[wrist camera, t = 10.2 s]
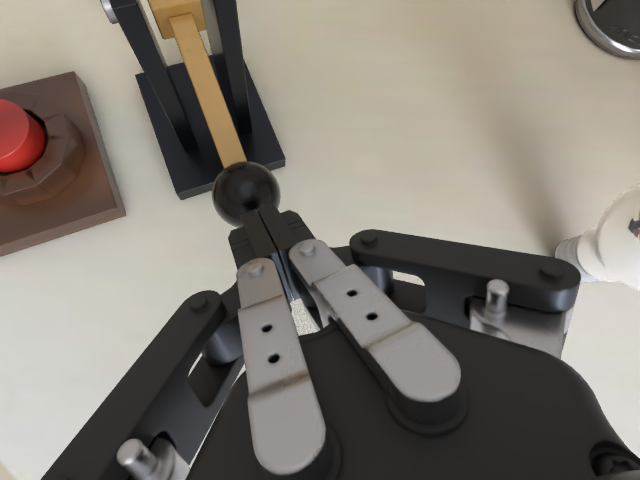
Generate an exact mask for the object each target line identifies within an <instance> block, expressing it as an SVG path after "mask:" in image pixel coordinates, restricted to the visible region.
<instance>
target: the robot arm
mask: <svg viewBox="0 0 640 480" xmlns="http://www.w3.org/2000/svg"><path fill="white" fill-rule="evenodd" d="M575 9H576V14H577V18H578V20H579V23H580V25H581V27H582V28H583V30H584V31H585V33H586V34H587V35H588V36H589V37H590V38H591V40H592V41H594V42H595V43H596V44H597V45H598V46H600V47H601V48H603V49H604V50H606V51H607V52H609V53H611V54H614V55H616V56H619V57H622V58H627V59H640V0H576V2H575ZM257 211H258V213H257ZM257 211H256V210H253V211H250V212H248V213H245V214H242V215H239V216H240V219H241V221H242V224H243V227H240V228H237V229H234V230H232V231H231V232H230V235H229V237H228V240H229V243H230V246H231V250H232V253H233V256H234V259H235V263H236V266H237V269H238V271H237V274H236V277H237V281H236V282H235V284H234V285H233V286H232V287H231V288H230V289H228V290H227V291H226V292H224V293H222V294H221V295H219V293H217V292H215V291H211V290H207V291H202V292H199V293H196V294H194V295H192V296H190V297H189V298H188V299H186V300H185V301H184V302H183V303H182V305H181V306H180V307H179V308H178V310H177V311H176V312H175V313H174V315H173V316H172V317H171V318H170V320H169V321H168V322H167V323H166V325H165V326H164V327H163V328H162V329H161V331H160V332H159V333H158V334H157V336H156V337H155V338H154V339H153V341H152V342H151V343H150V344H149V346H148V347H147V348H146V349H145V351H144V352H143V353H142V354H141V356H140V357H139V358H138V359H137V361H136V362H135V363H134V364H133V365H132V367H131V368H130V369H129V370H128V372H127V373H126V374H125V375H124V377H123V378H122V379H121V380H120V382H119V383H118V384H117V385H116V387H115V388H114V389H113V390H112V392H111V393H110V394H109V395H108V397H107V398H106V399H105V400H104V402H103V403H102V404H101V405H100V406H99V408H98V409H97V410H96V411H95V413H94V414H93V415H92V416H91V418H90V419H89V420H88V421H87V423H86V424H85V425H84V426H83V428H82V429H81V430H80V431H79V433H78V434H77V435H76V436H75V438H74V439H73V440H72V441H71V443H70V444H69V445H68V446H67V447H66V449H65V450H64V451H63V452H62V454H61V455H60V456H59V457H58V459H57V460H56V461H55V462H54V464H53V465H52V466H51V467H50V469H49V470H48V471H47V472H46V474H45V475H44V476H43V477H42V479H41V480H640V458H638V457H637V456H636V455H635V454H634V453H633V452H631V451H630V450H629V448H628V447H627V446H626V445H625V444H624V443H623V441H622V440H621V439H620V438H619V436H618V435H617V434H616V432H615V431H614V429H613V428H612V426H611V425H610V424H609V422H608V420H607V419H606V417H605V415H604V413H603V411H602V409H601V407H600V405H599V403H598V400H597V398H596V396H595V394H594V392H593V391H592V389H591V388H590V386H589V385H588V383H587V382H586V381H585V380H584V379H583V378H582V376H581V375H580V374H579V373H578V372H576V371H575V370H574V369H573V368H572V367H571V366H569V365H568V364H566V363H565V362H564V361H562V360H561V352H562V349H563V346H564V342H565V338H566V334H567V331H568V327H569V323H570V319H571V316H572V312H573V308H574V304H575V300H576V297H577V293H578V289H579V285H580V281H581V273H580V272H579V270H578V269H577V268H576V267H575V266H574V265H572V264H571V263H569V262H567V261H564V260H562V259H558V258H553V257H547V256H540V255H534V254H528V253H521V252H515V251H509V250H502V249H496V248H490V247H483V246H477V245H471V244H464V243H458V242H452V241H445V240H439V239H433V238H426V237H420V236H414V235H407V234H401V233H395V232H388V231H382V230H375V229H370V230H364V231H361V232H358V233H356V234H355V235H353V236H352V237H351V239H350V242H349V244H350V246H344V247H337V248H331V247H328V246H327V245H326V244H325V243H324V242H323V241H321V240H317V239H316V238H315V237H314V236H313V234H312V233H311V231H310V230H309V229H308V227H307V226H306V225H305V223H304V222H303V221H302V219H301V217H300V216H299V215H298V213H295V212H293V211H291V210H288V211H285V212H282V213H279V211H278V209H277V208H276V206H275V205H274V203H273V204H270V205H268V206H265V207H262V208H259V209H257ZM392 270H393V271H397V272H402V273H407V274H411V275H415V276H418V277H419V278H421V279H422V280H423V282H424V284H425V286H422V285H418V284H413V283H409V282H405V281H400V280H396V279H393V272H392ZM289 289H290V290H289ZM290 291H291V293H290ZM291 294H292V296H293V298H294V300H296V299H298V298H301V299H302V301H303V304H304V308H305V311H306V313H307V315H308V316H309V318H310V320H311V321H312V323H313V324H314V326H315V327H316V329H317V331H318V332H315V333H311V334H306V335H301V336H299V335H298V332H297V329H296V326H295V323H294V320H293V317H292V314H291V313H292V308H291V305H290V302H291V301H293V299H292V296H291ZM200 353H202V357H201V358H200V360H199V361H198V363H197V364H196V366H195V368H194V369H193V371H192V372H191V374H190V375H189V371H190V369H191V367H192V365H193V364H194V362H195V361H196V359H197V358H198V356H199V355H200ZM244 363H245V367H246V370H245V371H244V372H243V373H242V374H241V375H240V377H239V378H238V379H237V380H236V382H235V383H234V381H235V379H236V378H237V376H238V374H239V372H240V370H241V368H242V366H243V365H244ZM188 375H189V377H188ZM233 383H234V384H233ZM232 385H233V386H232ZM231 387H232V388H231ZM228 392H229V393H228ZM227 394H228V395H227ZM226 396H227V397H226ZM225 398H226V399H225ZM224 400H225V401H224ZM223 402H224V403H223ZM222 404H223V405H222ZM221 406H222V407H221ZM220 407H221V409H220ZM219 409H220V411H219ZM218 411H219V413H218ZM217 413H218V415H217ZM216 415H217V417H216ZM215 417H216V419H215ZM214 419H215V421H214V423H213V425H212V427H211V429H210V431H209V433H208V435H207V437H206V439H205V441H204V443H203V445H202V447H201V449H200V451H199V453H198V455H197V457H196V459H195V461H194V463H193V465H192V467H191V469H190V467H189V465H190V463H191V461H192V459H193V458H194V456H195V454H196V452H197V450H198V448H199V446H200V445H201V443H202V441H203V439H204V437H205V435H206V433H207V432H208V430H209V428H210V426H211V424H212V422H213V420H214Z"/></svg>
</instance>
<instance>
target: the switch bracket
mask: <svg viewBox="0 0 640 480" xmlns="http://www.w3.org/2000/svg"><path fill="white" fill-rule="evenodd" d="M201 1H202V6H203V12H204V17H205V23H206V29H207V33H208V38H209V42H210V46H211V50H212V55H210V56H208V57H209V60H210V63H211V66H212V68H213V71H214V74H215V76H216V79H217V82H218V84H219V87H220V90H221V92H222V95H223V98H224V100H225V103H226V106H227V108H228V111H229V114H230V117H231V119H232V122H233V125H234V127H235V130H236V133H237V135H238V138H239V141H240V143H241V146H242V149H243V151H244V154H245V157H246V159H247V161H250V162H255V163H258V164H260V165H262V166H264V167H265V168H267V169H268V170H269V171H271V170H274V169H277V168H280V167H283V166H285V157H284V154H283V152H282V149H281V147H280V145H279V142H278V140H277V137H276V135H275V133H274V130H273V128H272V126H271V123H270V121H269V118H268V116H267V114H266V111H265V109H264V106H263V104H262V102H261V99H260V97H259V95H258V92H257V90H256V87H255V85H254V83H253V80H252V78H251V75H250V73H249V71H248V68H247V66H246V64H245V61H244V59H243V53H242V45H241V37H240V29H239V21H238V13H237V5H236V0H201ZM100 2H101V4H102V7H103V9H104V11H105V13H106V15H107V17H108V19H109V21H110V22H111V23H112V24H115V23H119V24H120V26H121V28H122V30H123V32H124V34H125V36H126V38H127V39H128V41H129V43H130V45H131V47H132V49H133V51H134V53H135V55H136V57H137V59H138V61H139V63H140V65H141V67H142V69H143V71H144V73H140V74H137V75H135V77H136V79H137V82H138V85H139V88H140V91H141V94H142V97H143V99H144V102H145V105H146V108H147V111H148V114H149V117H150V119H151V122H152V125H153V128H154V131H155V134H156V137H157V139H158V142H159V145H160V148H161V151H162V154H163V157H164V159H165V162H166V165H167V168H168V171H169V174H170V176H171V179H172V182H173V185H174V188H175V191H176V194H177V195H178V197H179V198H180V199H181V200H183V199H186V198H189V197H192V196H195V195H198V194H201V193H204V192H208V191H211V190H212V188H213V184H214V181H215V179H216V177H217V176H218V174H219V173H220V172H221V171H222V170H223V169H224V167H223V165H222V162H221V159H220V157H219V154H218V151H217V149H216V146H215V143H214V141H213V138H212V135H211V133H210V130H209V127H208V125H207V122H206V119H205V117H204V114H203V111H202V109H201V106H200V103H199V101H198V98H197V95H196V93H195V90H194V87H193V85H192V82H191V80H190V77H189V74H188V72H187V69H186V66H185V64H184V62H183V63H179V64H175V65H171V66H168V67H167V64H166V62H165V59H164V57H163V55H162V52H161V50H160V47H159V45H158V42H157V40H156V38H155V35H154V33H153V30H152V28H151V26H150V23H149V21H148V18H147V16H146V14H145V11H144V9H143V6H142V4H141V1H140V0H100Z"/></svg>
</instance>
